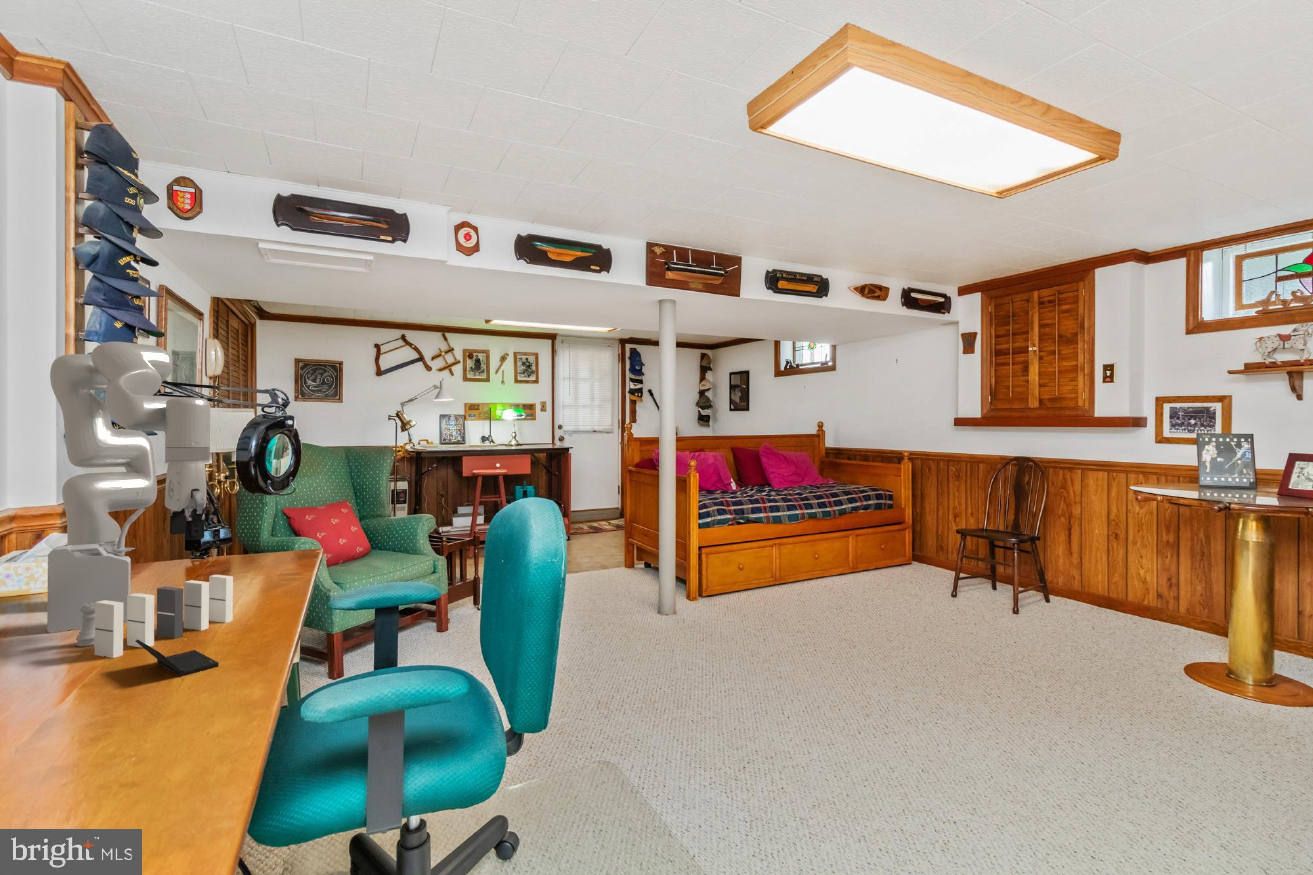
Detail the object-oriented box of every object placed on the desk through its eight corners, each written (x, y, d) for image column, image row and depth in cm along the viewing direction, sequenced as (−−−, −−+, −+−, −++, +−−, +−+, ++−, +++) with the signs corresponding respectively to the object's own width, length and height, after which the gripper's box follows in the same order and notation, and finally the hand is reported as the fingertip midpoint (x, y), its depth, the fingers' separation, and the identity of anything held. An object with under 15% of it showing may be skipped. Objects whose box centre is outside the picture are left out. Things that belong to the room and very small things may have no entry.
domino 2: (135, 642, 122) (136, 592, 122) (154, 645, 121) (154, 595, 121) (126, 645, 121) (127, 594, 120) (145, 648, 119) (145, 597, 119)
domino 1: (104, 651, 117) (104, 600, 117) (123, 655, 115) (123, 602, 115) (94, 654, 115) (95, 602, 115) (113, 658, 114) (113, 604, 114)
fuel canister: (145, 615, 139) (146, 506, 139) (143, 620, 135) (144, 508, 135) (52, 627, 130) (52, 510, 130) (47, 633, 126) (48, 513, 126)
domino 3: (174, 638, 124) (175, 590, 124) (156, 636, 126) (156, 588, 126) (182, 636, 126) (183, 588, 126) (164, 633, 127) (165, 586, 127)
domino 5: (215, 618, 138) (216, 574, 138) (232, 620, 137) (233, 576, 136) (208, 620, 136) (209, 576, 136) (225, 622, 135) (226, 578, 135)
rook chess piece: (87, 648, 118) (87, 607, 118) (69, 646, 119) (69, 605, 119) (111, 640, 123) (112, 601, 123) (94, 638, 124) (94, 599, 124)
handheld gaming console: (230, 654, 113) (190, 620, 108) (199, 689, 108) (155, 656, 102) (194, 652, 118) (154, 620, 113) (162, 686, 112) (118, 654, 107)
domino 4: (191, 625, 133) (191, 580, 133) (208, 628, 131) (209, 582, 131) (183, 628, 131) (184, 581, 131) (201, 630, 130) (201, 583, 130)
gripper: (153, 454, 131) (152, 533, 131) (179, 458, 120) (178, 544, 121) (195, 453, 137) (194, 529, 137) (223, 457, 126) (222, 539, 127)
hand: (186, 536), depth 129 cm, fingers open, 9 cm apart
